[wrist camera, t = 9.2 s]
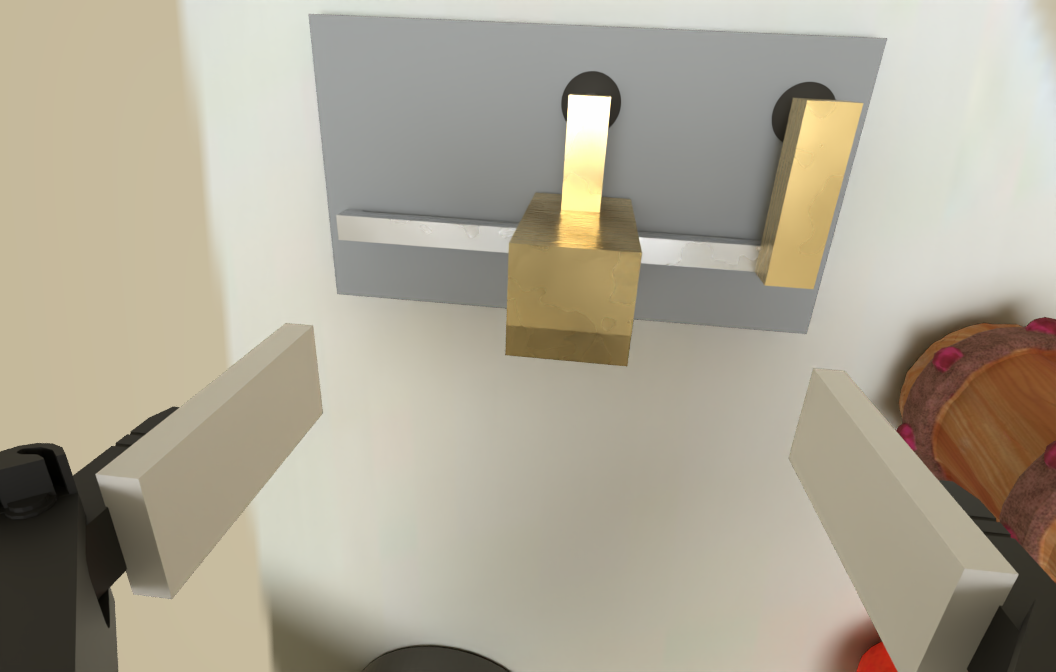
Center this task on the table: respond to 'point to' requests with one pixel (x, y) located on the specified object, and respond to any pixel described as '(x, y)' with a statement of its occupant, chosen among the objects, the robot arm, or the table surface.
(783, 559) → the table surface
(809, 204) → the beam
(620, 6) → the table surface
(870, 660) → the apple
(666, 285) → the flange plate
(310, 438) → the table surface
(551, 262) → the block
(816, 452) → the robot arm
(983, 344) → the mug
